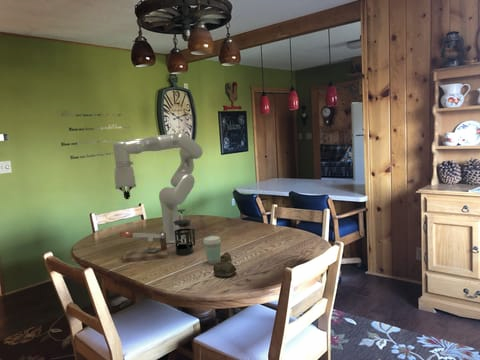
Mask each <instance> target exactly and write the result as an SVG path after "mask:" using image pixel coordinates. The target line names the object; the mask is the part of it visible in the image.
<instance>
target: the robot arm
mask: <svg viewBox="0 0 480 360" xmlns="http://www.w3.org/2000/svg"><path fill="white" fill-rule="evenodd" d="M112 147H113V155H114V163H115V168H114V185H115V188H114V189H115V190H119V191H121V192H123V197H124V199H125V200H130V198H131V193H130V191H131V190H132V189H133V188H136V187H137V184H136V177H135V171H134V168H133V166H132V165H134V162H133V161H131V159H130V155H139V154H141V153H143V152H160V151H165V150H170V149H171V150H172V149H178V148H179V156H180V164H179V166H178V168H177V169H176V171H175V172H174V173H173V175H172V177H171V179H170V184H171V186H172V187H170V186H167V187H163V188H162V189H161V190H160V191H159V193H158V198H159V199H158V200H159V203H160V208H161V217H162V229H163V231H162V232H163V233H165V232H166V244H173V243H175V234H174V231H175V230H177V229H181V227H179V226H178V225H175V224H174V223H173V222H174V221H177V220H180V216H179V215H180V214H179V212H178V210H179V207H178V206H180V205H182V204H183V203H184V202H185V201H186V199H187V197H188V196H189V194H190V193H191V192H192V190H193V188H194V187H195V186H194V185H195V182H196V181H195V178H194V175H193V174H192V173H193V171H194V169H195V163H194V160H196V159H200V158H201V157H202V155H203V148H202V146H201V145H200V144H199V143H197V142H196V141H195V140H194V139H193V138H192V137H190V136H189V135H187V134H186V133H183V132H175V133H167V134H160V135H154V136H149V137H142V138H134V139H128V140H126V141H125V140H124V141H123V140H122V141H116V142H113V144H112ZM125 187H127V189H126V188H125ZM176 233H178V232H176ZM184 237H186V235H184ZM181 239H183V235H181ZM177 240H178V235H177Z"/></svg>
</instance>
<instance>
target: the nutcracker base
mask: <svg viewBox="0 0 480 360" xmlns="http://www.w3.org/2000/svg"><path fill="white" fill-rule="evenodd" d="M162 233H164V232H159V234H162ZM164 234H165V238H164V239H161V238H159V242H160V247H158V248H157V247H156V246H155V244H153V243H151V244H149V245H148V247H147V248H146V249H137V250H129V251H125V252H124V255H123V257H122V263H134V262H143V261H152V260H161V259H168V258H169V247H168V245H167V244H168V243H166V232H165V233H164Z"/></svg>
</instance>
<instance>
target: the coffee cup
mask: <svg viewBox="0 0 480 360" xmlns="http://www.w3.org/2000/svg"><path fill="white" fill-rule="evenodd" d="M202 243H203V245H204V251H205V256H206V262H207V264H208V265H214V264H215V263H219V262H220V261H221V259H220V257H221V243H222V240H221V237H220V236H218V235H210V236H206V237H204V238H203V242H202Z"/></svg>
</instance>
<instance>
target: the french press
mask: <svg viewBox="0 0 480 360" xmlns="http://www.w3.org/2000/svg"><path fill="white" fill-rule="evenodd" d="M178 212H180V214H181V218H182V219H179V220H177V221H174V222H173V223H174V224H175V225H178V226H179V227H180V229H177V230H175V231H174V234H175V255H176V256H188V255H192V254H193V253H194V249H193V248H194V246H195V245H196V238H195V236H196V234H195V233H196V232H195V228H187V227H189V226H191V222H192V221H191V219H188V218H187V219H183V212H186V209H178ZM176 232H178V233H176ZM177 235H178V240H177ZM181 235H183V239H181ZM184 235H186V236H184Z"/></svg>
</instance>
